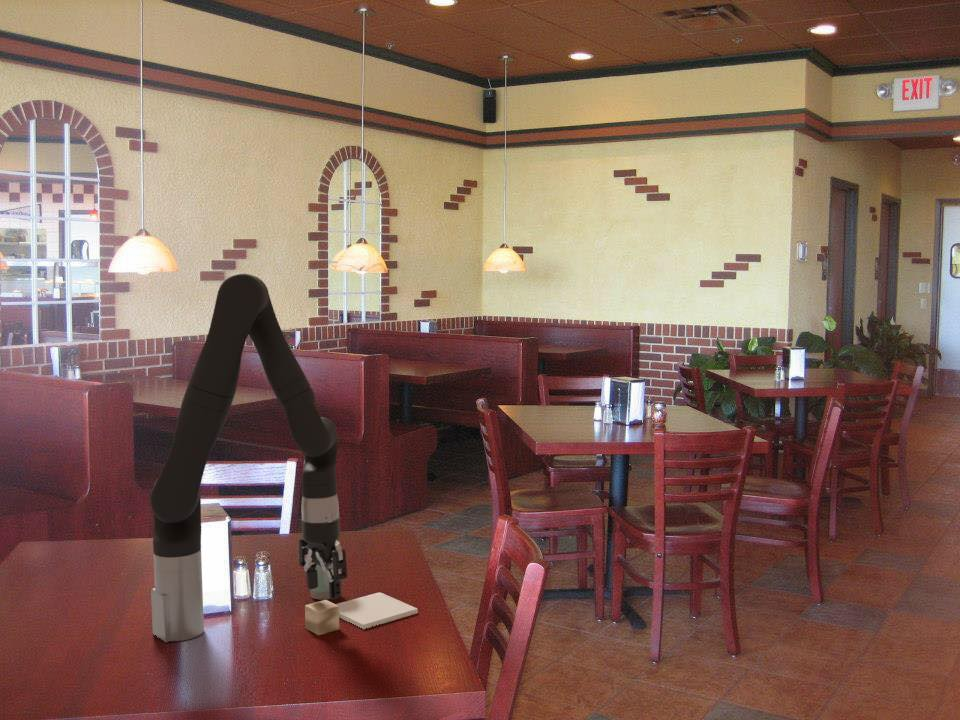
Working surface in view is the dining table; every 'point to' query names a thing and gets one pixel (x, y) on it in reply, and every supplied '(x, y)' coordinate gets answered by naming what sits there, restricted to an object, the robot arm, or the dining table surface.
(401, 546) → the dining table surface
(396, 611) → the plate
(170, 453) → the robot arm
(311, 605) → the maple cube
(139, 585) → the dining table surface
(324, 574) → the coffee cup
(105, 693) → the dining table surface
